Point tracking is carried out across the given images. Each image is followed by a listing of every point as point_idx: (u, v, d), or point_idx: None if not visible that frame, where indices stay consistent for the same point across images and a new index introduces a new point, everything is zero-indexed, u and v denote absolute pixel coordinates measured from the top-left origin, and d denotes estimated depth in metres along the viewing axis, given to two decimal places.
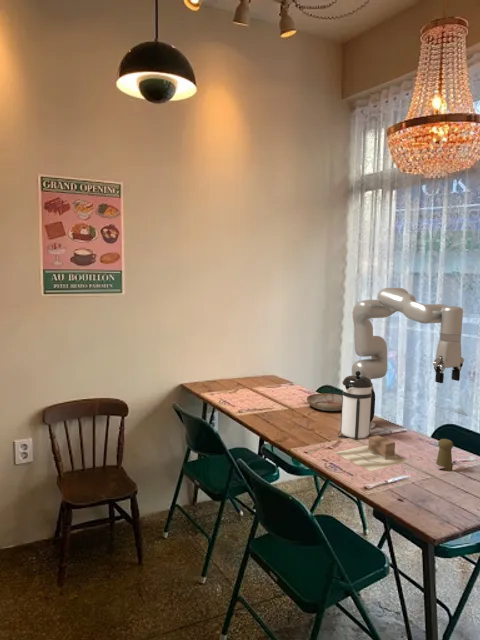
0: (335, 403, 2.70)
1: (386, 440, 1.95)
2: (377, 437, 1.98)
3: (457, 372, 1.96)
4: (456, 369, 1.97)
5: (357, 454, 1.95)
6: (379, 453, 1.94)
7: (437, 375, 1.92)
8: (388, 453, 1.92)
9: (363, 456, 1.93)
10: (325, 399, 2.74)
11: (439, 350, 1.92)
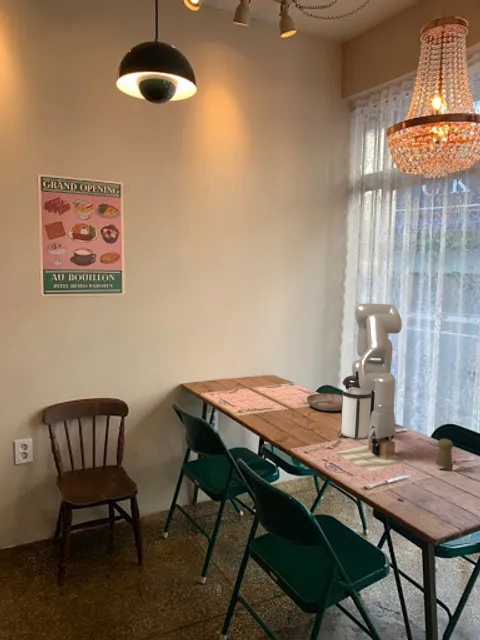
0: (335, 403, 2.70)
1: (386, 440, 1.95)
2: None
3: None
4: None
5: (357, 454, 1.95)
6: (379, 453, 1.94)
7: (373, 447, 1.94)
8: (388, 453, 1.92)
9: (363, 456, 1.93)
10: (325, 399, 2.74)
11: (372, 421, 1.93)
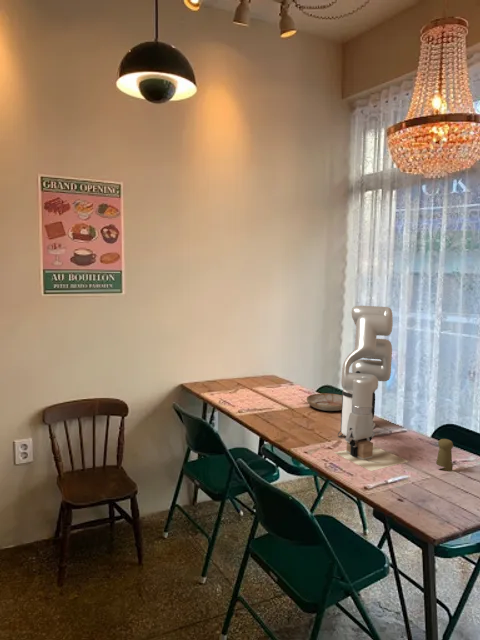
0: (335, 403, 2.70)
1: (364, 440, 1.94)
2: None
3: None
4: None
5: None
6: (357, 454, 1.92)
7: (351, 449, 1.93)
8: (366, 453, 1.91)
9: None
10: (325, 399, 2.74)
11: (350, 422, 1.92)
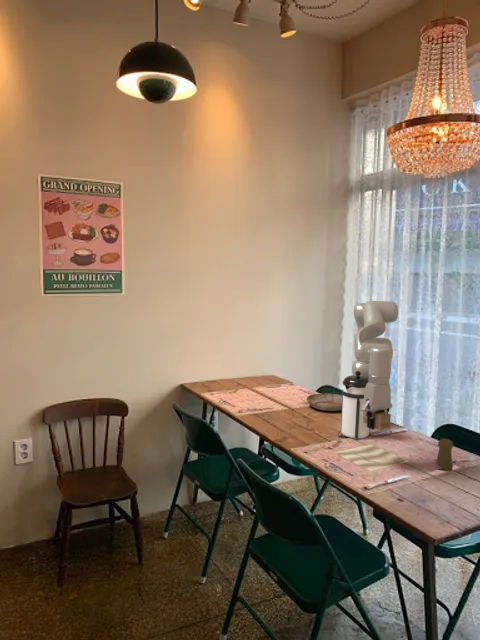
0: (335, 403, 2.70)
1: (381, 412, 1.86)
2: None
3: None
4: None
5: (357, 454, 1.95)
6: (374, 425, 1.85)
7: (368, 421, 1.86)
8: (384, 425, 1.83)
9: (363, 456, 1.93)
10: (325, 399, 2.74)
11: (366, 393, 1.84)
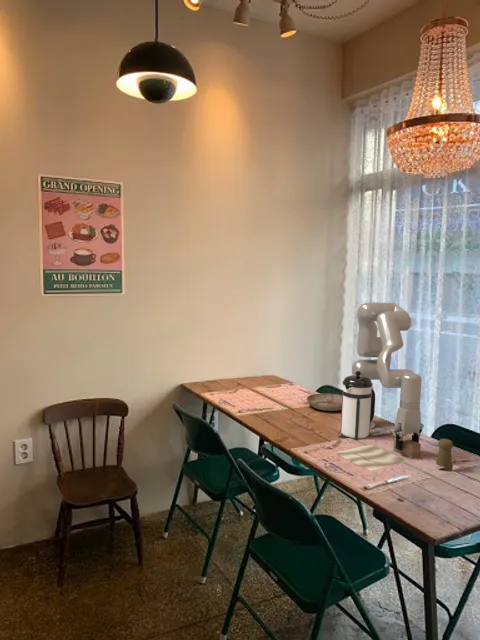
0: (335, 403, 2.70)
1: (411, 442, 1.97)
2: (402, 439, 2.00)
3: (416, 438, 1.98)
4: (415, 435, 1.99)
5: (357, 454, 1.95)
6: (405, 454, 1.95)
7: (397, 442, 1.95)
8: (414, 454, 1.94)
9: (363, 456, 1.93)
10: (325, 399, 2.74)
11: (398, 417, 1.94)
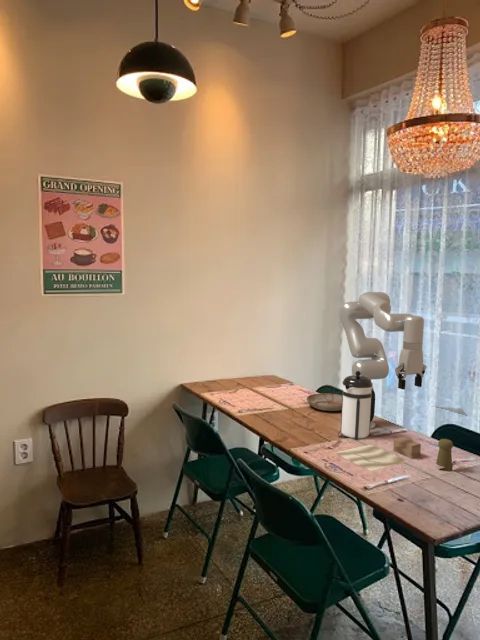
0: (335, 403, 2.70)
1: (411, 442, 1.97)
2: (402, 439, 2.00)
3: (419, 379, 2.05)
4: (418, 376, 2.05)
5: (357, 454, 1.95)
6: (405, 454, 1.95)
7: (399, 382, 2.00)
8: (414, 454, 1.94)
9: (363, 456, 1.93)
10: (325, 399, 2.74)
11: (401, 358, 2.00)
